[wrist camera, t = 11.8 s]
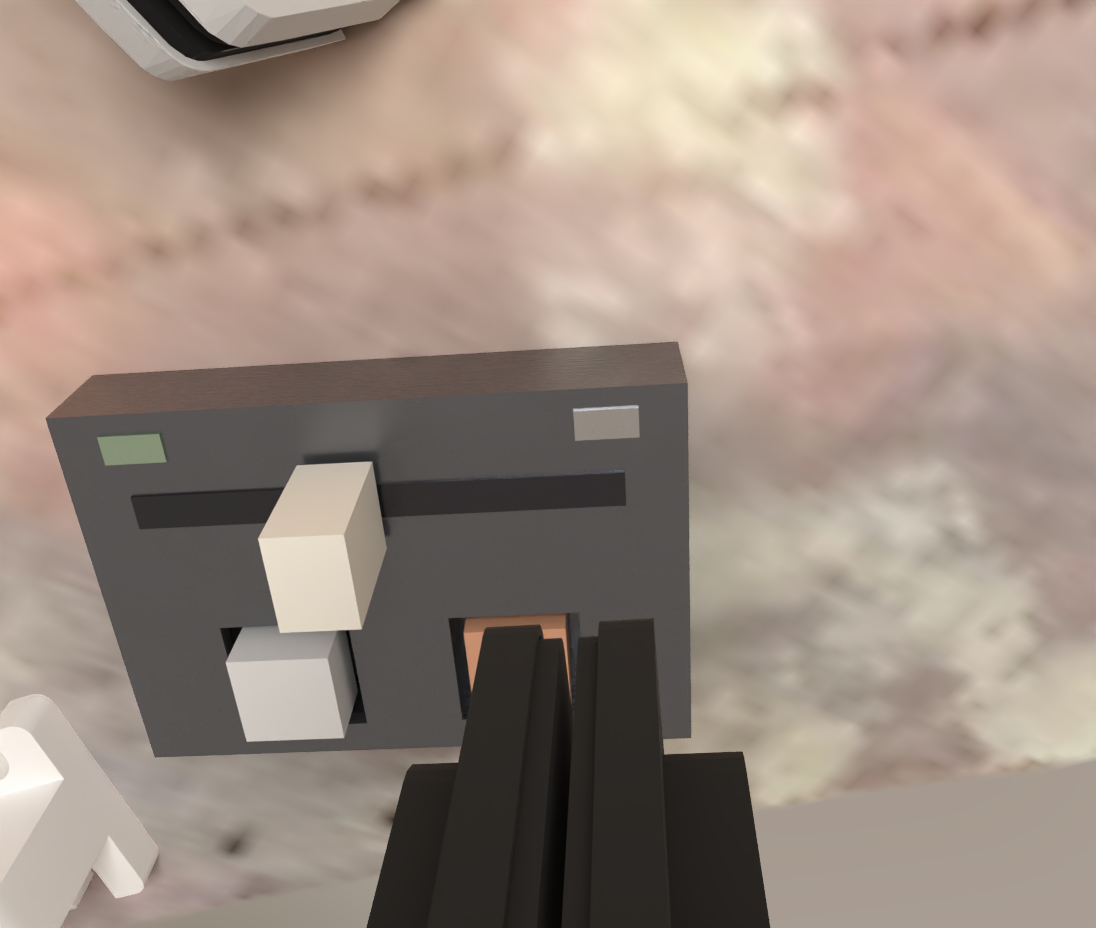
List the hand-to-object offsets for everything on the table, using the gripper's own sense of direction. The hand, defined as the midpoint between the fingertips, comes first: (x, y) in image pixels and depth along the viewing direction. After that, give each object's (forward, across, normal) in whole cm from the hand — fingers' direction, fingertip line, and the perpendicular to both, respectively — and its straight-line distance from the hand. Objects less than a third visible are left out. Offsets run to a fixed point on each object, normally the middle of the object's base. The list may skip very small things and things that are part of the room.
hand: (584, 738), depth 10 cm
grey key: (+22, +12, +15) cm, 29 cm away
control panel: (+24, +8, +12) cm, 28 cm away
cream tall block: (+20, +9, +8) cm, 24 cm away
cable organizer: (+24, +26, +23) cm, 42 cm away
